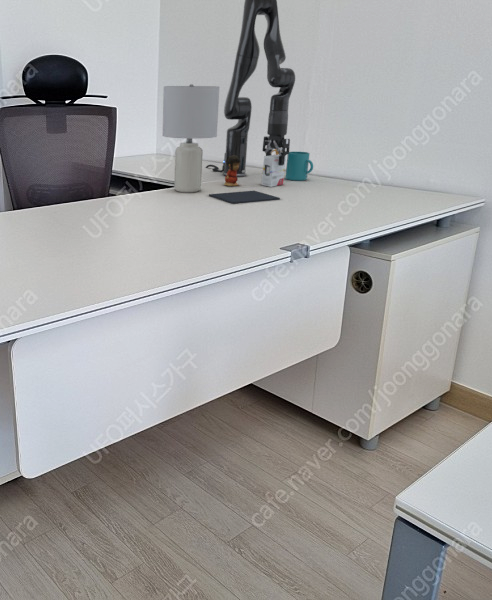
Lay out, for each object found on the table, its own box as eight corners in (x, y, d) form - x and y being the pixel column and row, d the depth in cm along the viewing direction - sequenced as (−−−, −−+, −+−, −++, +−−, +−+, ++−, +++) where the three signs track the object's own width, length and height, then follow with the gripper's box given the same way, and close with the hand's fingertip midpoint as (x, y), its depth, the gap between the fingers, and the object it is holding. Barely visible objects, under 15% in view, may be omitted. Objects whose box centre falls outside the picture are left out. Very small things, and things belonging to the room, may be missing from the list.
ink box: (274, 183, 246) (276, 154, 242) (284, 184, 243) (286, 155, 239) (260, 185, 241) (263, 155, 237) (270, 187, 238) (273, 157, 233)
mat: (209, 195, 220) (209, 194, 220) (254, 192, 227) (254, 190, 227) (232, 203, 206) (232, 202, 206) (279, 199, 214) (280, 197, 213)
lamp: (191, 184, 243) (195, 83, 229) (224, 192, 227) (231, 84, 213) (151, 189, 233) (152, 83, 219) (183, 197, 217) (187, 84, 203)
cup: (305, 182, 248) (308, 155, 244) (281, 179, 256) (283, 152, 252) (317, 180, 254) (320, 153, 250) (292, 176, 262) (295, 150, 258)
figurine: (221, 186, 240) (223, 155, 236) (225, 183, 245) (226, 154, 240) (237, 187, 238) (239, 156, 233) (240, 184, 242) (242, 155, 238)
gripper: (297, 123, 229) (293, 165, 234) (274, 121, 241) (271, 161, 246) (281, 123, 226) (277, 166, 231) (259, 121, 238) (256, 162, 244)
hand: (274, 164), depth 239 cm, fingers open, 8 cm apart
